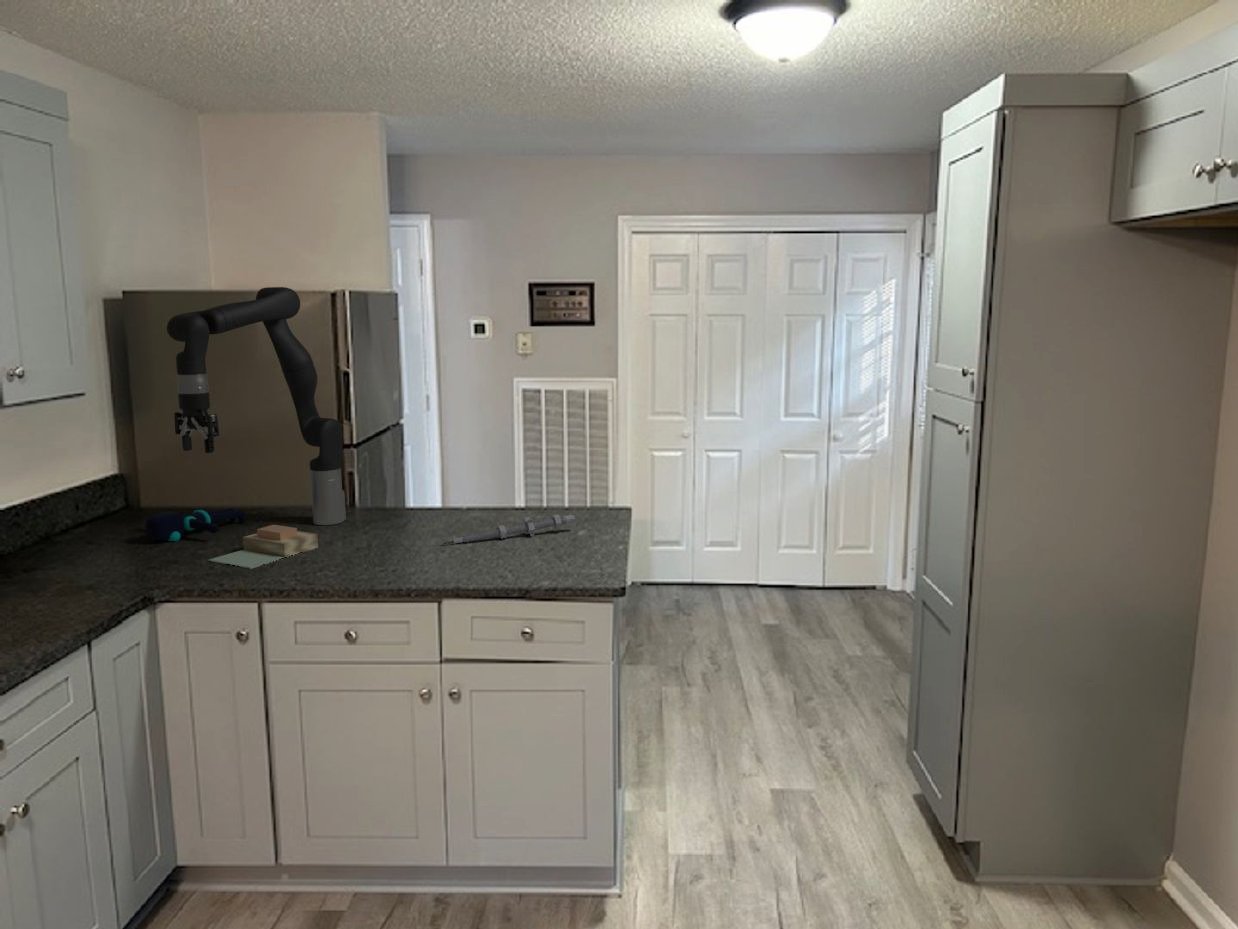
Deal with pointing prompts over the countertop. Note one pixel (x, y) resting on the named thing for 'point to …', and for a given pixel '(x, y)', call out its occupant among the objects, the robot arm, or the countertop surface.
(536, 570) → the countertop surface
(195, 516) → the toy
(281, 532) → the tile
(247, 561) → the mat
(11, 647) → the countertop surface
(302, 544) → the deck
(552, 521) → the adjustable rod
